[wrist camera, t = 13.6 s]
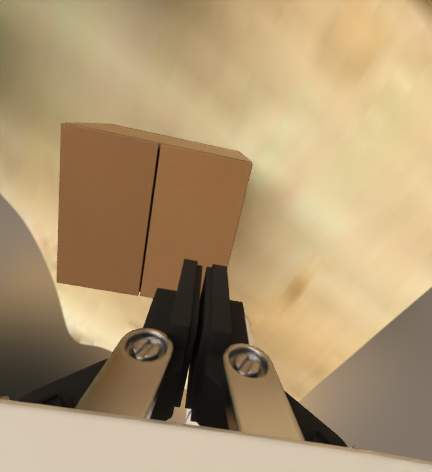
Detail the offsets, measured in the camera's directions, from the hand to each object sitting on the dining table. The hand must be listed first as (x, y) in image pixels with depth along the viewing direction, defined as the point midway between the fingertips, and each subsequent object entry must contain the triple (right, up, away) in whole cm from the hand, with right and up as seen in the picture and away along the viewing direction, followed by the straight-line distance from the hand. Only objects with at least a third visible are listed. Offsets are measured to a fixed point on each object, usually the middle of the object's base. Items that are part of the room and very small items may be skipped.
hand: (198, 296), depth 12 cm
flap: (-1, +3, +11) cm, 11 cm away
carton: (-4, +6, +19) cm, 21 cm away
